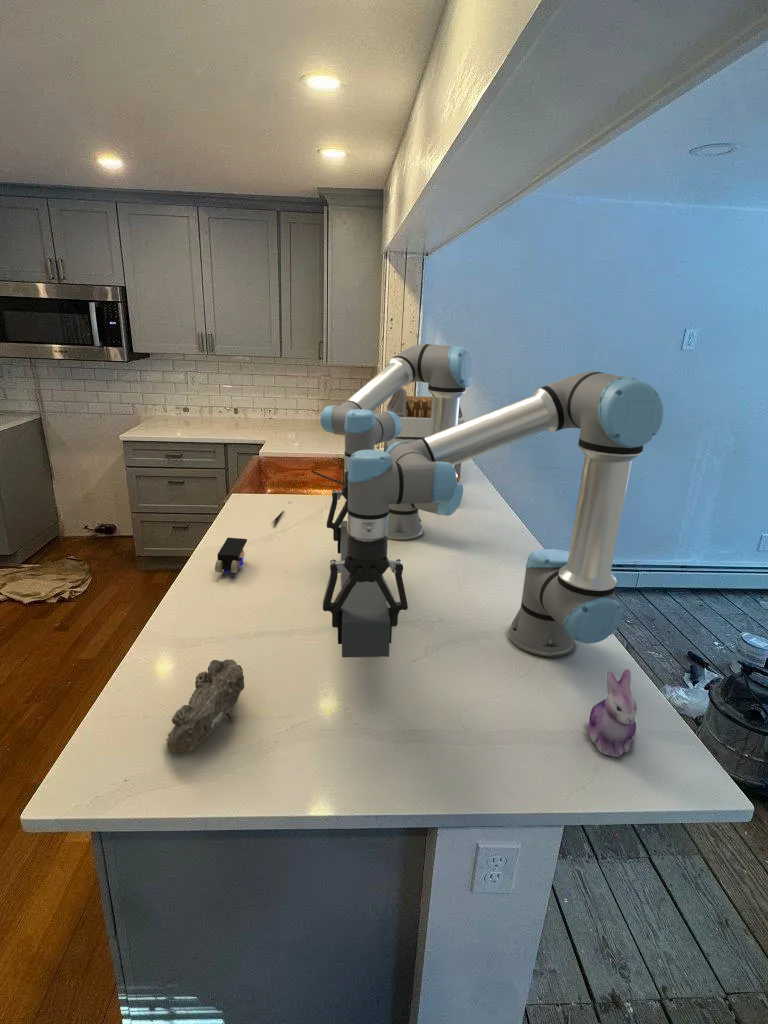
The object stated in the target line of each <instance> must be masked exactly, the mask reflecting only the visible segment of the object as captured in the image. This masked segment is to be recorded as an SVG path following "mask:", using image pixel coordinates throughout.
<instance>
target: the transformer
mask: <svg viewBox="0 0 768 1024" xmlns="http://www.w3.org/2000/svg"><path fill="white" fill-rule="evenodd" d="M407 394H408V393H407V390H406V389H404V387H401V388H400V389H399V390H397V391H396V392H395V393H394V394H393V395H392V396H391V397H390V400H389V402H388V404H387V405H386V412H393V413H395V414H396V415H398V417H399V418H400V420H401V425H402V428H401V432H400V434H399V435H398V436H397V437H395V438H393V439H392V440H390V441H385V442H383V451H384V452H385V451H386V450H387V448H388V447H389V446H390V445H392V444H393V443H395V442H400V441H401V442H402V441H403V442H408V443H411V442H414V441H416V440H419V439H422V438H425V437H428V436H430V425H431V410H432V396H415V395H414V396H413V395H412V396H411V395H407ZM464 422H466V421H465V419H464V418H463V411H462V408H461V405H460V404H459V413H458V425H459V424H462V423H464ZM454 469H455V472H456V474H460V475H461V472H462V462H461V463H459V464H456V465H454ZM459 482H460V483H461V480H460V481H459Z"/></svg>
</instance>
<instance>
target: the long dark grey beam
mask: <svg viewBox="0 0 768 1024" xmlns="http://www.w3.org/2000/svg"><path fill="white" fill-rule="evenodd" d="M340 527H341V552H340V553H339V555H340V561H344V560H345V558H346V556H347V536H348V535H349V534H348V532H347V520H343V521H342V523H341V525H340ZM348 575H349V572H348V571H347V569H346V568H345V567H344V568H342V571H341V572H340V589H341V588H342V587H343V585H344V583H345V582H346V580H347V578H348ZM388 607H389V604H388V602H387V600H386V598H385V596H384V594H383V592H382V591H381V589H380V587H379V586H378V584H377V582H376V581H375V582H368V581H365V582H358V581H357V583H356V585H355V586H354V587H353V588H352V590H351V592H350V593H349V595H348V597H347V598H346V600H345V602H344V604H343V605H342V607H341V608H342V644H341V658H389V657H390V645H391V643H390V624H391V622H390V616H389V610H388Z"/></svg>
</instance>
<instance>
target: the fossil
mask: <svg viewBox="0 0 768 1024" xmlns="http://www.w3.org/2000/svg"><path fill="white" fill-rule="evenodd" d="M243 670H244V669H243V667H242V665H240V664H237V662H236V661H235V660H234V659H232V658H231V659H227V658H226V659H224V660H223V661H222V660H217V659H212V660H211V661H210V663H209V665H208V666H207V671H201V672H199V673H198V674H197V675H196V676H195V680H194V684H195V685H194V687H195V689H194V690H193V693H192V694H191V697H190V698H189V700H188V704H184V705H182V706H181V707H180V709H177V710H176V711H175V713H174V715H173V716H172V718H171V723H172V724H173V727H172V730H171V731H170V732H168V734H167V738H166V741H167V742H166V745H167V749H168V750H169V751H173V752H174V753H176V754H178V753H182V752H188V751H189V752H192V751H193V750H195V748H196V747H197V746H199V744H200V743H201V742H203V741H204V740H205V739H206V738H207V737H208V736H209V735H210V734H211V733H212V732H214V730H215V729H217V727H218V726H219V724H220V722H221V721H222V720H223V719H224V718H225V716H226V717H227V719H229V720H233V717H232V715H230V714H229V710H230V709H231V708H234V706H235V704H236V703H237V702H238V699H239V697H240V695H241V693H242V691H243V690H245V689H244V688H245V675H244V671H243Z"/></svg>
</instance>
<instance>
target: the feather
mask: <svg viewBox="0 0 768 1024" xmlns="http://www.w3.org/2000/svg"><path fill="white" fill-rule="evenodd" d="M283 512H284V509H282V511H281V512H280V513H279V514H278V516H276V517H275V518H274V519H273V521H272V522H271V524H273V523H274V527H276V525H277V523H278V522H279V520H280V518H281V516H282V514H283Z"/></svg>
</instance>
